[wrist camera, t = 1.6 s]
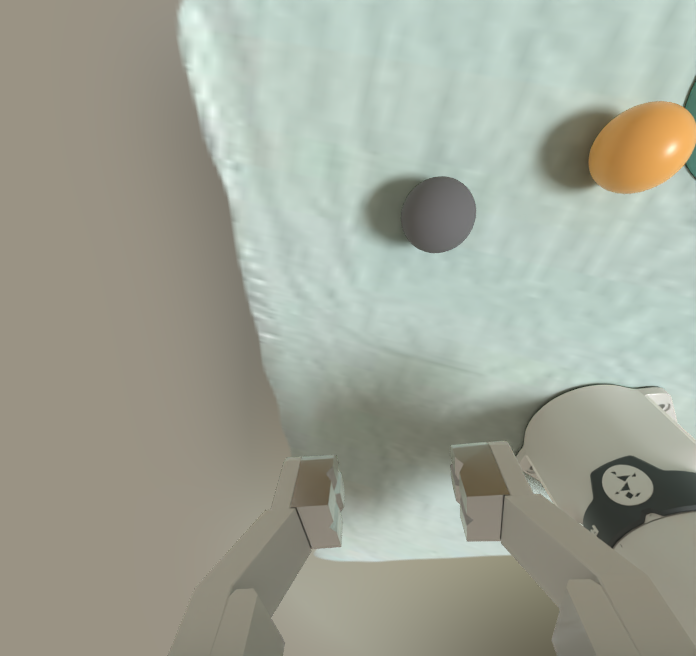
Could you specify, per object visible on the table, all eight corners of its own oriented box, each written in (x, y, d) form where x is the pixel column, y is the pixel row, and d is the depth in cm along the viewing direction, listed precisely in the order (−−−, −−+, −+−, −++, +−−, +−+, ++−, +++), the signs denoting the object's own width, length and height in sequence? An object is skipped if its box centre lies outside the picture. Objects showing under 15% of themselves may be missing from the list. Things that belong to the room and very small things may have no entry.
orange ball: (664, 151, 27) (738, 151, 22) (592, 205, 29) (643, 216, 24) (634, 87, 25) (705, 69, 20) (559, 149, 27) (606, 148, 22)
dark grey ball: (478, 212, 30) (502, 224, 24) (425, 256, 32) (436, 276, 27) (438, 158, 28) (454, 159, 23) (384, 209, 30) (388, 220, 25)
